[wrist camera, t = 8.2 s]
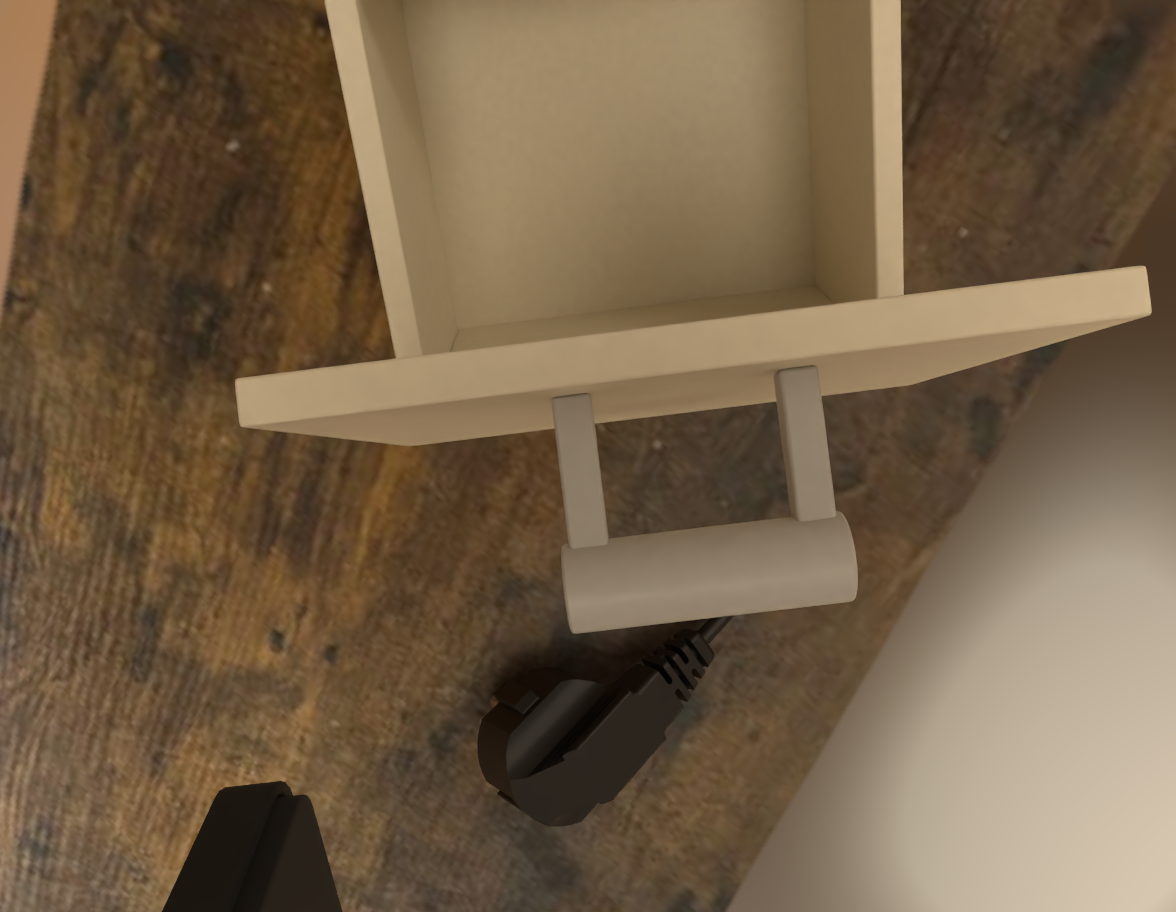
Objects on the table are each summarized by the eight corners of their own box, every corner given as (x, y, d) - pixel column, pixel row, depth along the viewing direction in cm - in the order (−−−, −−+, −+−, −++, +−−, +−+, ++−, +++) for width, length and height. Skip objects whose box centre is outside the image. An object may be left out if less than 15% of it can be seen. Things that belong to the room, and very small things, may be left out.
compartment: (376, -22, 34) (315, -43, 26) (819, -82, 34) (900, -123, 25) (442, 347, 39) (409, 427, 30) (833, 298, 38) (905, 366, 30)
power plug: (787, 648, 43) (591, 877, 38) (680, 622, 49) (502, 814, 44) (718, 546, 41) (504, 773, 36) (617, 532, 47) (424, 723, 43)
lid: (232, 378, 17) (268, 688, 17) (1148, 263, 16) (1189, 581, 16) (405, 419, 30) (425, 590, 30) (908, 357, 30) (930, 530, 30)
